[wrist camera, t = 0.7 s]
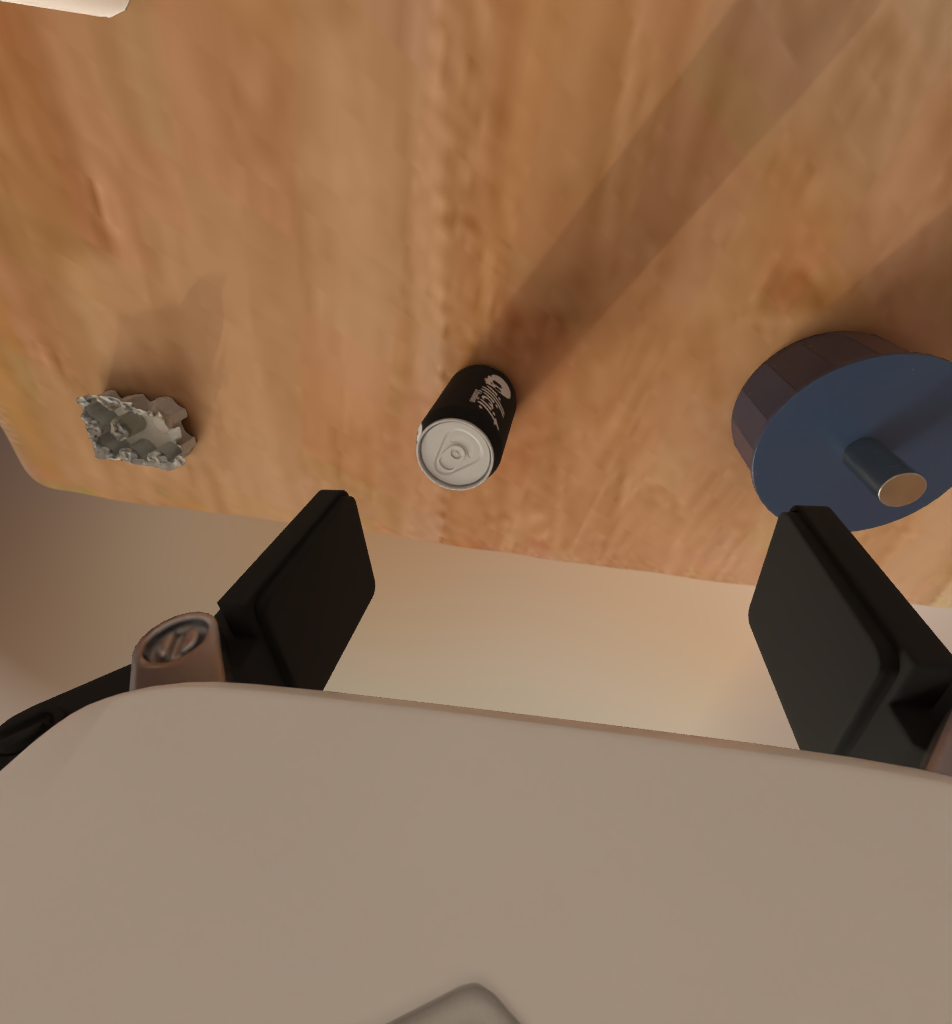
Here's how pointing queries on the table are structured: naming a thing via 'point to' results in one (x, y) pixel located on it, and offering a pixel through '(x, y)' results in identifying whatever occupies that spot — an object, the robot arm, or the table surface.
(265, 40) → the table surface
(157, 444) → the egg carton
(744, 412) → the tin
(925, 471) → the lid
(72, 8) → the foam cup
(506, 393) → the beverage can
